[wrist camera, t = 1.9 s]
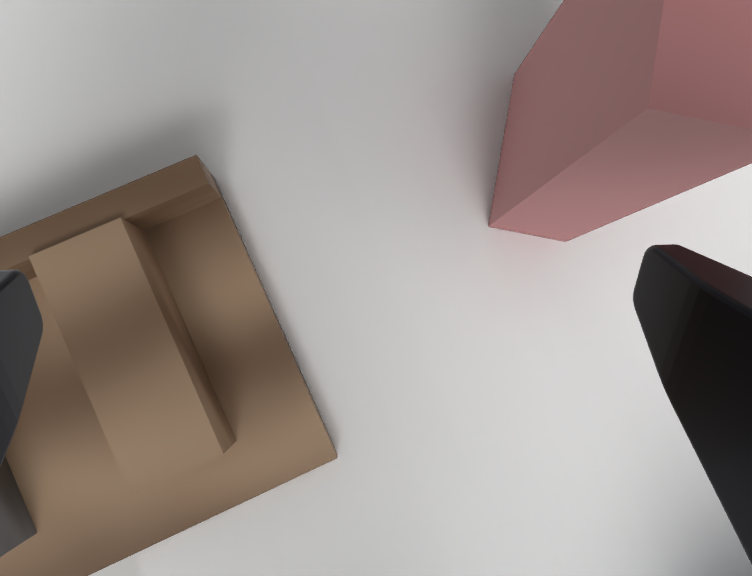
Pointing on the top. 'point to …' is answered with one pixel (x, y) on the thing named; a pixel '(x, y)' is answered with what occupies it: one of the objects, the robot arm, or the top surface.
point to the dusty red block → (623, 112)
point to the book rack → (146, 378)
